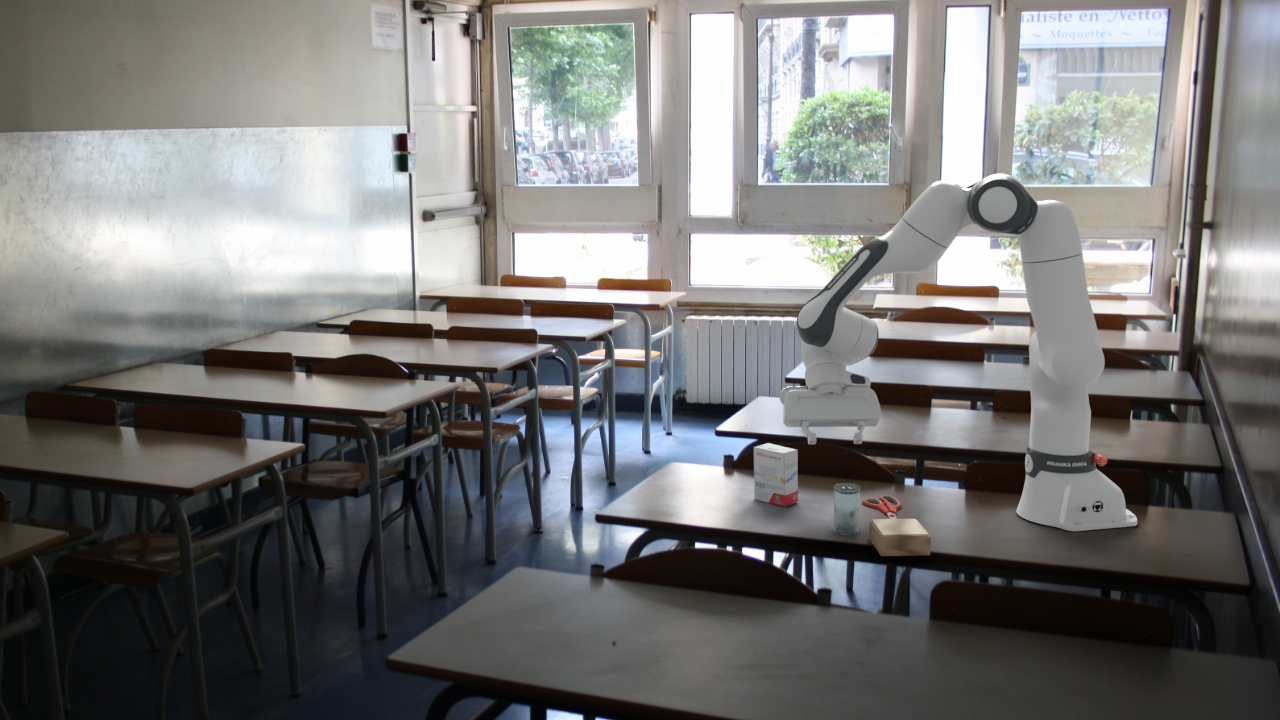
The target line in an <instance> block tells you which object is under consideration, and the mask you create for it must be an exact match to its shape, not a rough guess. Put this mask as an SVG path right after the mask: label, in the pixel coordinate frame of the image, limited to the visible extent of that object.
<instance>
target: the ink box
mask: <svg viewBox="0 0 1280 720" xmlns="http://www.w3.org/2000/svg"><path fill="white" fill-rule="evenodd" d="M798 451H799V450H798V449H795V448H792V447H787V446H782V445H779V444H774V443H770V442H767V443H766V442H765V443H764V444H760V445H759V444H758V445H757V446H753V483H754V484H753V487H754V488H753V491H754V492H753V493H754V494H753V495H754V496H753V497H754V500H756V501H760V502H763V503H764V502H765V503H767V504H773V505H777V506H780V507H784V508H787V507H788V506H792V505H794V504H795V503H797V502H799V486H798V485H799V477H798V476H799V475H798V474H799V473H798V471H799V469H798V468H799V467H798V458H799V457H798V455H799V454H798V453H799V452H798Z"/></svg>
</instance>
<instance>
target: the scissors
mask: <svg viewBox="0 0 1280 720" xmlns="http://www.w3.org/2000/svg"><path fill="white" fill-rule="evenodd" d="M890 502H892V503H894V504H895V505H894V504H891V503H890ZM861 503H862V505H863V506H865V507H867V508H871V509H875V510H878V511H880V512H881V513H882V514H884V515H885V516H887V517H888V518H887V519H898V517H897V515H898V513H897V511H899V510H901V509H902V506H903V505H902V503H901V501H900V499H898V498H896V497H895V496H893V495H889V494H884V495H880V496H879V497H878V498H875V497H867V498H864V499H863V500H862V502H861Z"/></svg>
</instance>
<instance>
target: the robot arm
mask: <svg viewBox="0 0 1280 720" xmlns="http://www.w3.org/2000/svg"><path fill="white" fill-rule="evenodd" d="M972 225H976V226H979V228H981V229H983V230H985V231H987V232H991V233H996V234H997V233H998V234H1009V235H1014V236H1015V237H1016V239H1017V242H1018V245H1019V251H1020V256H1021V257H1020V258H1021V264H1022V272H1023V279H1024V287H1025V292H1026V293H1025V294H1026V301H1027V304H1028V306H1029V310H1030V315H1031V319H1032V322H1033V327H1034V330H1035V331H1034V332H1033V334H1031V336H1030V340H1029V342H1028V343H1029V344H1028V354H1029V356H1028V357H1029V358H1028V360H1029V362H1028V363H1029V364H1028V365H1029V369H1028V370H1029V390H1030V405H1031V406H1030V407H1031V411H1030V426H1029V441H1028V442H1029V443H1028V445H1027V446H1026V452H1025V458H1024V467H1025V479H1024V484H1023V490H1022V493H1021V497H1020V500H1019V503H1018V505H1017V508H1016V514H1017V515H1018V516H1019V517H1021V518H1022V519H1025V520H1027V521H1030V522H1032V523H1035V524H1040V525H1045V526H1049V527H1055V528H1059V529H1062V530H1065V531H1069V532H1082V531H1093V530H1105V529H1116V528H1127V527H1136V526H1137V525H1138V518H1137V516H1136V514H1134V513H1133V512H1132V511H1130V509H1127V508H1126V499H1125V495H1124V493H1123V490H1122V489H1121V488H1120V487H1119V486H1118V485H1117V484H1116V483H1115V482H1113V480H1111V479H1110V478H1109V477H1107V475H1105V474H1104V473H1103V472H1102V471H1100V470H1098V469H1097V466H1096V465H1098V466H1099V467H1104V466H1106V465H1107V463H1108V459H1107V457H1106V456H1104V455H1102V454H1100V453H1096V452H1093V451H1092V450H1091V449H1089V446H1090V433H1091V429H1090V428H1091V421H1092V420H1091V419H1092V409H1091V406H1090V399H1089V389H1088V387H1089V386H1090V385H1092V384H1094V383H1095V382H1096V381H1097V380H1099V378H1100V377H1101V375H1102V373H1103V372H1104V369H1105V364H1106V363H1105V361H1106V360H1105V355H1104V352H1103V348H1102V345H1101V339H1100V334H1099V329H1098V326H1097V321H1096V318H1095V315H1094V311H1093V307H1092V304H1091V300H1090V296H1089V290H1088V286H1087V285H1088V284H1087V275H1086V270H1085V262H1084V256H1083V255H1084V254H1083V248H1082V242H1081V237H1080V236H1081V235H1080V232H1079V229H1078V225H1077V222H1076V219H1075V217H1074V214H1073V211H1072V209H1071V207H1070V206H1069V205H1068V204H1066V203H1065V202H1063V201H1060V200H1053V199H1045V200H1036V199H1034V198H1033V197H1032V196H1031V195H1030V193H1029V192H1028V189H1027V188H1026V187H1025V185H1024V184H1023V182H1022V181H1021V180H1020V179H1018V178H1017V177H1015V176H1013V175H1010V174H1006V173H993V174H990V175H988V176H984V178H982V179H980V180H979V181H977V182H975V183H973V184H971V185H969V186H967V187H964V186H961V185H959V184H957V183H956V182H953V181H950V180H937V181H935V182H932V183H931V184H930V185H929V186H927V187H926V189H924V191H922V193H920V195H918V197H917V198H916V199H915V200H914V201H913V203H912V204H911V205H910V206H909V207H908V209H907V210H906V211H905V213H903V215H902V217H901V218H900V219H899V221H898V222H897V223H896V224H895V225H894V226H893V227H892V228H891V229H890V230H888V231H887V232H886V233H884V234H883V235H882V236H880V237H875V238H872V239H871V240H869V241H867V242H866V243H864V245H863V246H862V247H861V248H860V249H858V251H857V252H855V253H854V255H853V256H852V257H851V258H850V259H849V260H848V261H847V262H846V263H845V264H844V265H843V267H842V268H840V270H839V271H838V272H837V273H836V274H835V275H834V277H832V278H831V280H830V281H829V282H828V283H827V284H826V285H825V286H824V287H823V288H822V289H821V290H820V291H819V292H818V293H817V294H815V295H814V296H813V297H812V298H809V300H808V301H806V302H805V304H803V305H802V307H801V308H800V309H799V311H798V314H797V317H796V328H797V331H798V334H799V337H800V339H801V356H802V362H803V365H804V367H805V372H804V380H805V385H798V386H792V385H790V386H785V387H784V388H782V389H781V390H780V391H779V401H780V403H781V404H782V405H783V407H782V423H783V424H784V426H786V427H787V428H800V431H801V433H802V434H803V435H804V437H806V438H807V443H808V445H816V444H817V441H818V440H817V434H816V433H814V432H813V433H812V431H811V430H810V429H809V428H847V427H848V428H851V427H853V428H854V427H856V430H857V431H858V432H854V434H853V437H852V439H853V444H855V445H862V444H863V434H864V431H865V428H866V427H867V428H868V427H869V428H870V427H872V428H873V427H874V428H875V427H877V426H878V425H879V423H880V421H881V420H882V409H881V405H880V401H879V399H878V396H877V394H876V392H875V390H873V389H872V388H871V384H872V382H871V379H870V377H869V376H867V375H866V376H865V375H862V374H858V373H854V372H852V371H849V370H847V367H848V366H852V365H855V364H857V363H859V362H861V361H863V360H865V359H866V358H868V357H870V356H871V355H872V354H873V353H874V352H875V350H876V348H877V346H878V342H879V335H880V334H879V327H878V325H877V322H875V320H873V319H871V318H869V317H868V316H865V315H864V314H861V313H859V312H856V311H854V310H851V309H849V308H847V307H845V306H846V305H847V303H848V302H849V301H850V300H851V299H852V298H853V297H854V296H855V295H856V294H857V293H858V292H859V291H860V290H862V288H863V286H865V284H866V283H867V282H869V280H871V279H872V278H875V277H878V276H881V275H886V274H887V275H888V274H903V275H913V274H915V275H916V274H919V273H923V272H926V271H928V270H930V269H931V268H932V267H934V266H935V265H936V264H937V263H938V262H939V261H940V259H941V258H942V257H943V256H944V254H945V253H946V251H948V248H949V247H950V245H952V243H953V242H954V240H955V239H956V237H957V236H958V235H959V234H960V233H961V232H962V231H963V230H964V229H965V228H967V227H969V226H972Z"/></svg>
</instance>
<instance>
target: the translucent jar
mask: <svg viewBox="0 0 1280 720" xmlns="http://www.w3.org/2000/svg"><path fill="white" fill-rule="evenodd" d="M833 489H834V493H833V494H834V497H833V528H832V529H833V530H834V531H833V530H832V531H833V532H834V533H835V532H836V533H835V534H837V533H839V534H838V535H841V534H846V535H845V536H853V535H852V534H855V535H857V534H858V533H859V527H860V526H859V521H860V520H859V518H860V497H861V496H860V492H861V486H860V485H858V484H856V483H851V482H840V483H836V484H834V486H833ZM856 533H857V534H856Z"/></svg>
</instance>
